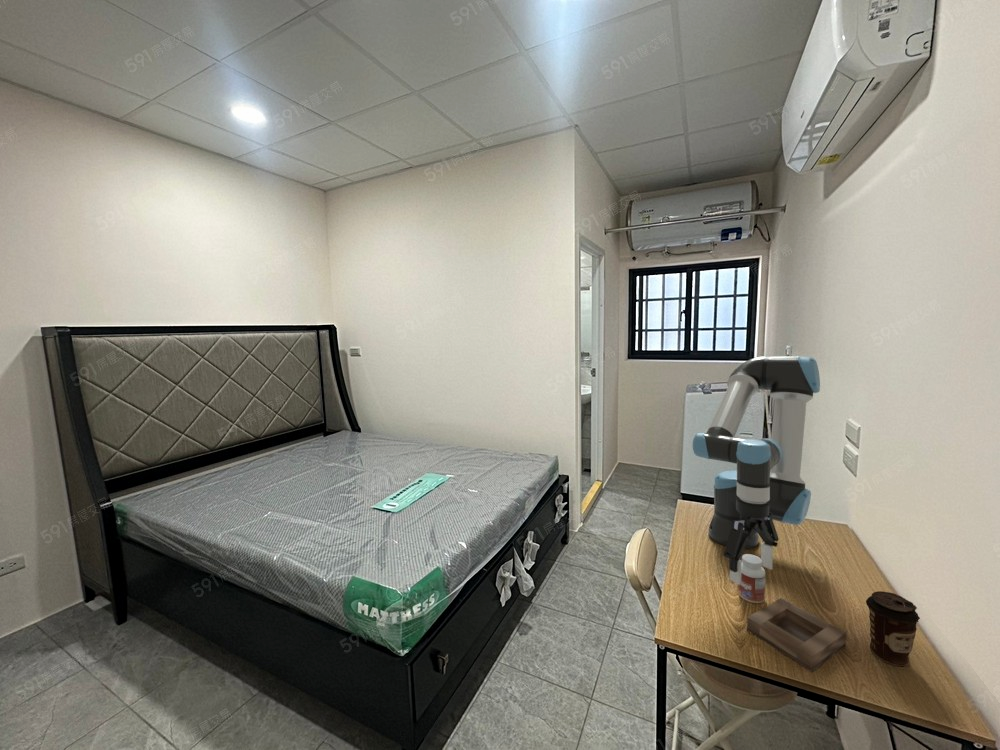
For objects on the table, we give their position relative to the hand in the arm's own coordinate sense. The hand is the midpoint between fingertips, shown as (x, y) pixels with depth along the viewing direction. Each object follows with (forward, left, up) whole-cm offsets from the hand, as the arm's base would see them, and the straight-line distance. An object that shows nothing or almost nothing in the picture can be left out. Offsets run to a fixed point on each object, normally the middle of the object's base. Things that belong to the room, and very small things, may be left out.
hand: (751, 574), depth 110 cm
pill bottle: (0, 0, -7) cm, 7 cm away
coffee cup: (-6, +27, -7) cm, 28 cm away
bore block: (+6, +14, -7) cm, 16 cm away
